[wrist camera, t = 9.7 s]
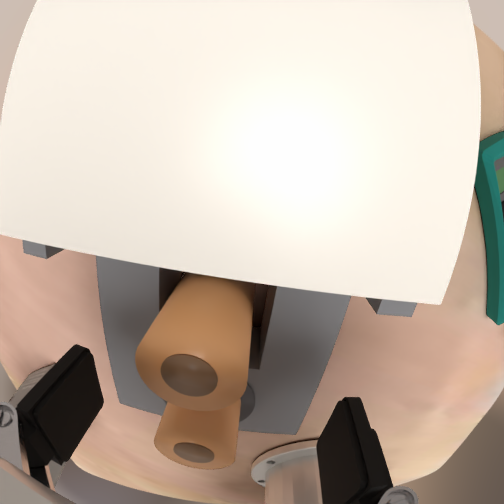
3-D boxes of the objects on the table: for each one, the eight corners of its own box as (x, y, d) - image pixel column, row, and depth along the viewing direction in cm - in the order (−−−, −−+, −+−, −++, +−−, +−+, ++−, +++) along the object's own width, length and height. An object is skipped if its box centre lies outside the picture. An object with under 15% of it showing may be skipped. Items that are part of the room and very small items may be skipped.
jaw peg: (260, 254, 16) (255, 342, 8) (250, 315, 17) (239, 420, 9) (190, 243, 16) (129, 318, 8) (186, 304, 17) (140, 399, 9)
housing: (292, 394, 19) (300, 494, 11) (138, 368, 19) (93, 454, 11) (365, 53, 12) (444, -19, 3) (159, 30, 12) (84, -45, 3)
